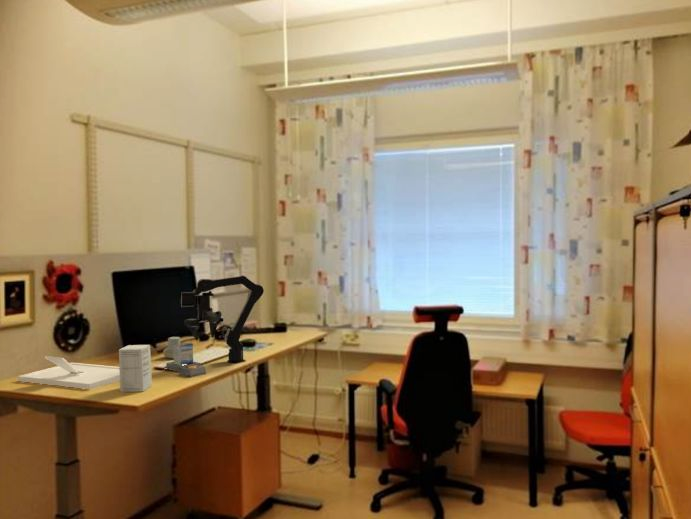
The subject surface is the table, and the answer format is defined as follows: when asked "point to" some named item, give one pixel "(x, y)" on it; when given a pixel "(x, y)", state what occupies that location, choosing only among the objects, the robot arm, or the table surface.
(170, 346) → the air freshener
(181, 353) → the medicine box
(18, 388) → the table surface
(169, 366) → the grey square tray
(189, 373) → the button housing
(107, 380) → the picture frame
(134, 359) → the supplement box
